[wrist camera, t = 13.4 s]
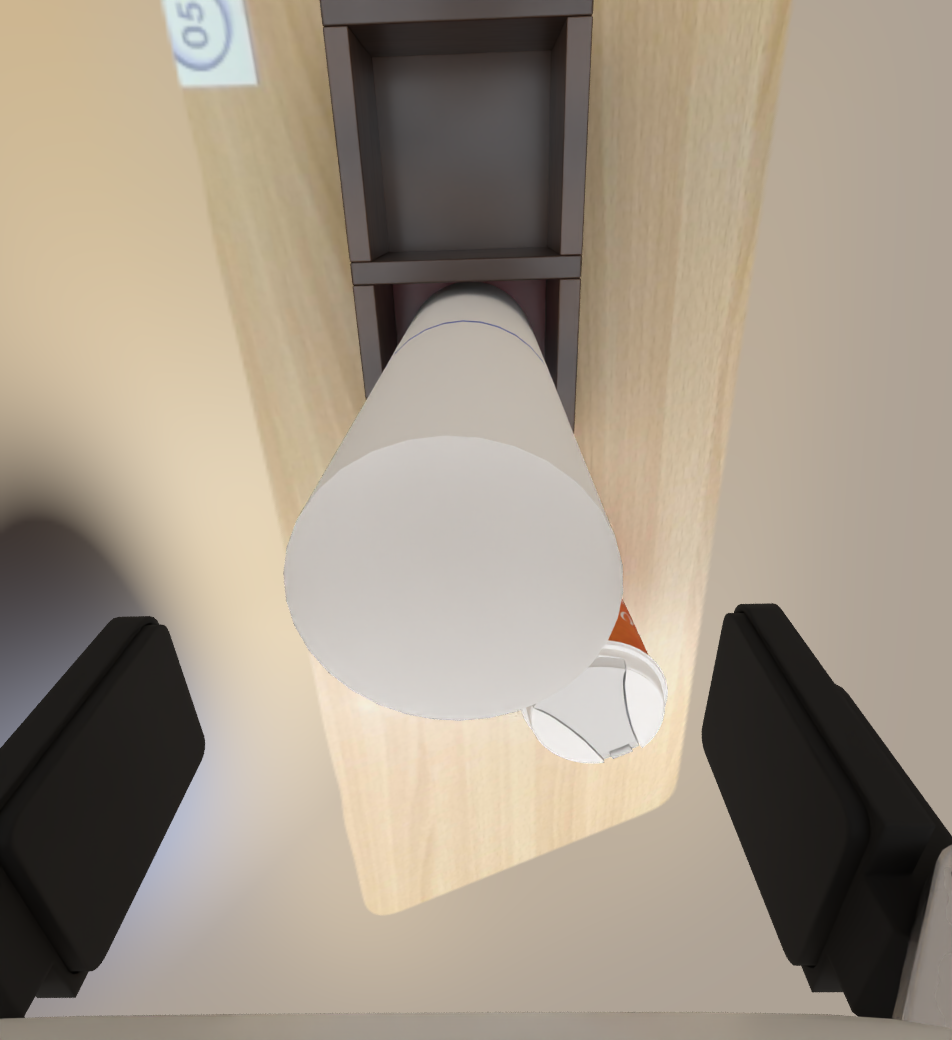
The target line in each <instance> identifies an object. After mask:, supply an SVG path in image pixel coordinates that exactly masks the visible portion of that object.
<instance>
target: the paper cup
mask: <svg viewBox="0 0 952 1040" xmlns="http://www.w3.org/2000/svg"><path fill="white" fill-rule="evenodd" d="M667 694H668V687H667V683H666V678H665V676H664V674H663V672H662V670H661V668H660V667H659V665H658V664H657V663H656V662H655V661H654V660H653V659H652V658H651V657H650V656H649V655H648V653H647V651H646V649H645V647H644V645H643V642H642V640H641V638H640V636H639V634H638V632H637V629H636V627H635V625H634V623H633V621H632V618H631V616H630V614H629V612H628V610H627V608H626V605H625V603H624V601H623V599H622V600H621V605H620V610H619V615H618V619H617V621H616V623H615V626H614V628H613V630H612V632H611V635H610V637H609V639H608V641H607V643H606V644H605V646H604V647H603V648H602V650H601V651H600V653H599V654H598V656H597V657H596V658H595V660H594V661H593V663H592V664H591V665H590V666H589V667H588V668H587V669H586V670H584V671H583V672H582V673H581V674H580V675H579V676H578V677H577V678H576V679H575V680H574V681H573V682H572V683H571V684H569V685H568V686H566V687H564V688H563V689H561V690H560V691H558V692H557V693H555V694H554V695H552V696H550V697H549V698H547V699H546V700H543V701H541V702H539V703H536V704H534V705H531V706H529V707H527V708H524V709H522V710H521V711H522V714H523V717H524V719H525V721H526V722H527V724H528V726H529V727H530V728H531V729H532V730H533V732H534V734H535V736H536V737H537V739H538V740H539V741H540V742H541V744H542V745H543V746H544V747H546V748H547V749H548V750H549V751H551V752H552V753H554V754H556V755H557V756H560V757H562V758H564V759H567V760H571V761H575V762H581V763H604V759H606V758H609V757H612V758H613V759H614V758H617V757H619V756H622V755H625V754H627V753H630V752H632V751H633V750H632V748H635V747H637V746H639V744H638V743H640V745H641V747H642V748H643V747H644V746H645V745H646V744H648V743H649V742H650V741H651V740H652V738H653V737H654V736H655V735H656V733H657V732H658V730H659V728H660V726H661V724H662V721H663V718H664V713H665V705H666V701H667Z"/></svg>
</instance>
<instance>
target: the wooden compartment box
mask: <svg viewBox="0 0 952 1040" xmlns="http://www.w3.org/2000/svg"><path fill="white" fill-rule="evenodd" d="M320 8H321V16H322V24H323V26H324V27H323V34H324V43H325V52H326V60H327V69H328V77H329V86H330V95H331V103H332V112H333V121H334V129H335V138H336V146H337V155H338V164H339V172H340V181H341V190H342V198H343V207H344V215H345V224H346V233H347V241H348V250H349V259H350V262H352V263H351V264H350V266H351V275H352V283H353V285H354V286H353V293H354V302H355V310H356V319H357V328H358V336H359V345H360V354H361V362H362V371H363V379H364V388H365V397H366V400H367V398H368V396H369V395H370V393H371V391H372V389H373V388H374V386H375V384H376V383H377V381H378V379H379V377H380V376H381V374H382V372H383V371H384V369H385V367H386V365H387V364H388V362H389V360H390V359H391V357H392V355H393V353H394V352H395V350H396V348H397V346H398V345H399V343H400V341H401V340H402V338H403V336H404V334H405V333H406V331H407V329H408V328H409V326H410V324H411V322H412V321H413V319H414V317H415V316H416V314H417V312H418V311H419V309H420V308H421V306H422V305H423V304H424V303H425V302H426V301H427V300H428V299H429V298H430V297H431V296H432V295H433V294H434V293H436V292H438V291H439V290H441V289H442V288H444V287H447V286H449V285H452V284H455V283H460V282H482V283H486V284H490V285H493V286H495V287H497V288H499V289H501V290H503V291H505V292H506V293H507V294H508V295H510V296H511V297H512V298H513V299H515V301H516V302H517V303H518V304H519V305H520V307H521V308H522V309H523V311H524V313H525V315H526V317H527V318H528V320H529V323H530V325H531V328H532V330H533V333H534V336H535V338H536V341H537V343H538V346H539V348H540V351H541V353H542V356H543V358H544V360H545V363H546V365H547V368H548V370H549V373H550V375H551V378H552V380H553V383H554V385H555V388H556V390H557V393H558V395H559V398H560V400H561V403H562V406H563V408H564V411H565V413H566V416H567V418H568V421H569V423H570V426H571V429H572V431H573V434H574V424H575V401H576V379H577V357H578V334H579V312H580V290H581V279H580V277H581V266H582V256H581V254H582V246H583V224H584V202H585V180H586V157H587V135H588V113H589V90H590V68H591V46H592V23H593V17H592V14H593V0H320Z"/></svg>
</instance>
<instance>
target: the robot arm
mask: <svg viewBox="0 0 952 1040" xmlns="http://www.w3.org/2000/svg"><path fill="white" fill-rule="evenodd" d="M702 743H703V748H704V751H705V754H706V757H707V759H708V762H709V764H710V767H711V769H712V772H713V774H714V777H715V779H716V782H717V784H718V787H719V789H720V792H721V794H722V797H723V799H724V802H725V804H726V807H727V809H728V812H729V814H730V817H731V820H732V822H733V825H734V827H735V830H736V832H737V834H738V837H739V840H740V842H741V845H742V847H743V849H744V852H745V855H746V857H747V860H748V862H749V865H750V867H751V870H752V872H753V875H754V877H755V880H756V882H757V885H758V887H759V890H760V892H761V895H762V897H763V900H764V903H765V905H766V907H767V910H768V912H769V915H770V917H771V920H772V923H773V925H774V928H775V930H776V933H777V935H778V938H779V940H780V943H781V945H782V948H783V950H784V952H785V955H786V957H787V958H788V960H789V961H790V963H792V964H793V965H796V966H800V965H801V966H802V968H803V971H804V973H805V976H806V978H807V981H808V983H809V986H810V988H811V990H812V992H844V995H845V997H846V999H847V1001H848V1003H849V1006H850V1008H851V1010H852V1012H853V1013H854V1014H856V1015H857V1016H858V1017H856V1016H842V1015H828V1014H826V1015H825V1014H775V1013H774V1014H773V1013H719V1012H716V1013H715V1012H492V1013H491V1012H485V1013H484V1012H477V1013H475V1012H474V1013H323V1014H321V1013H320V1014H317V1013H316V1014H216V1015H133V1016H72V1017H71V1016H70V1017H40V1018H39V1017H38V1018H25V1017H24V1016H25V1014H26V1012H27V1010H28V1008H29V1007H30V1005H31V1003H32V1001H33V999H34V998H35V996H36V997H37V998H68V997H69V998H72V997H73V998H75V997H76V996H77V994H78V992H79V990H80V987H81V986H82V984H83V982H84V980H85V978H86V976H87V974H88V972H89V971H93V970H95V969H96V968H98V966H99V965H100V964H101V963H102V961H103V959H104V958H105V956H106V954H107V952H108V950H109V948H110V946H111V944H112V942H113V940H114V938H115V936H116V934H117V932H118V930H119V928H120V926H121V924H122V922H123V920H124V918H125V915H126V913H127V911H128V909H129V907H130V905H131V903H132V901H133V899H134V897H135V895H136V893H137V891H138V889H139V887H140V885H141V883H142V881H143V879H144V877H145V875H146V873H147V871H148V869H149V867H150V864H151V863H152V860H153V858H154V856H155V854H156V852H157V850H158V848H159V846H160V844H161V842H162V840H163V838H164V836H165V834H166V832H167V830H168V828H169V826H170V824H171V822H172V820H173V818H174V815H175V813H176V812H177V809H178V807H179V805H180V803H181V801H182V799H183V797H184V795H185V793H186V791H187V789H188V787H189V785H190V783H191V781H192V779H193V777H194V775H195V773H196V771H197V769H198V766H199V765H200V762H201V760H202V758H203V755H204V750H205V739H204V735H203V732H202V729H201V726H200V723H199V720H198V717H197V714H196V711H195V708H194V705H193V702H192V699H191V696H190V693H189V690H188V687H187V684H186V681H185V678H184V675H183V672H182V669H181V666H180V664H179V660H178V657H177V654H176V651H175V648H174V645H173V642H172V639H171V636H170V634H169V631H168V629H167V627H166V626H164V625H159V623H158V621H157V620H156V619H155V618H154V617H150V616H145V617H144V616H141V617H140V616H139V617H117V618H113V619H112V620H111V621H110V622H109V623H108V624H107V625H106V626H105V628H104V629H103V630H102V631H101V632H100V633H99V634H98V636H97V637H96V638H95V639H94V640H93V641H92V643H91V644H90V645H89V646H88V647H87V649H86V650H85V651H84V652H83V653H82V654H81V655H80V656H79V658H78V659H77V660H76V661H75V662H74V663H73V665H72V666H71V667H70V668H69V669H68V670H67V672H66V673H65V674H64V675H63V676H62V677H61V679H60V680H59V681H58V682H57V683H56V684H55V686H54V687H53V688H52V689H51V690H50V691H49V692H48V694H47V695H46V696H45V697H44V698H43V699H42V701H41V702H40V703H39V704H38V705H37V706H36V708H35V709H34V710H33V711H32V712H31V713H30V715H29V716H28V717H27V718H26V719H25V720H24V722H23V723H22V724H21V725H20V726H19V727H18V728H17V730H16V731H15V732H14V733H13V734H12V735H11V737H10V738H9V739H8V740H7V741H6V742H5V744H4V745H3V746H2V747H1V748H0V1040H952V836H951V834H950V833H949V832H948V830H947V829H946V828H945V827H944V825H943V823H942V822H941V821H940V819H939V818H938V817H937V815H936V814H935V813H934V811H933V810H932V808H931V807H930V806H929V804H928V803H927V802H926V800H925V799H924V797H923V796H922V795H921V793H920V792H919V790H918V789H917V788H916V786H915V785H914V784H913V782H912V781H911V780H910V778H909V777H908V775H907V774H906V773H905V771H904V770H903V769H902V767H901V766H900V764H899V763H898V762H897V760H896V759H895V758H894V756H893V755H892V753H891V752H890V751H889V749H888V748H887V747H886V745H885V744H884V742H883V741H882V740H881V738H880V737H879V736H878V734H877V733H876V731H875V730H874V729H873V727H872V726H871V725H870V723H869V722H868V721H867V719H866V718H865V716H864V715H863V714H862V712H861V711H860V710H859V708H858V707H857V706H856V704H855V703H854V701H853V700H852V699H851V697H850V696H849V695H848V693H847V692H846V691H845V690H844V689H843V688H842V687H840V686H838V685H836V684H834V682H833V681H832V679H831V678H830V677H829V675H828V674H827V673H826V671H825V670H824V668H823V667H822V665H821V664H820V663H819V661H818V660H817V658H816V657H815V656H814V654H813V653H812V651H811V650H810V649H809V647H808V646H807V644H806V643H805V642H804V640H803V639H802V637H801V636H800V635H799V633H798V632H797V630H796V629H795V628H794V626H793V625H792V623H791V622H790V621H789V619H788V618H787V617H786V615H785V614H784V612H783V611H782V610H781V608H780V607H779V606H778V605H776V604H773V603H772V604H740V605H738V606H737V607H736V609H735V611H734V613H728V614H726V615H725V618H724V621H723V625H722V630H721V635H720V640H719V645H718V651H717V656H716V660H715V666H714V671H713V676H712V681H711V686H710V691H709V696H708V701H707V706H706V711H705V716H704V721H703V726H702Z"/></svg>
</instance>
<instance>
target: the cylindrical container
mask: <svg viewBox="0 0 952 1040" xmlns="http://www.w3.org/2000/svg"><path fill="white" fill-rule="evenodd" d="M284 584H285V593H286V601H287V604H288V607H289V610H290V613H291V616H292V619H293V622H294V625H295V627H296V629H297V631H298V632H299V634H300V636H301V638H302V639H303V641H304V643H305V645H306V646H307V648H308V650H309V651H310V652H311V653H312V654H313V655H314V657H315V658H316V659H317V660H318V661H319V662H320V663H321V664H322V666H323V667H324V668H325V669H326V670H327V671H328V672H329V673H330V674H331V675H333V676H334V677H335V678H337V679H338V680H339V681H340V682H342V683H343V684H344V685H346V686H347V687H348V688H349V689H351V690H352V691H354V692H356V693H358V694H360V695H361V696H363V697H365V698H367V699H369V700H371V701H373V702H375V703H377V704H378V705H381V706H384V707H387V708H390V709H393V710H396V711H399V712H402V713H405V714H409V715H414V716H419V717H424V718H430V719H440V720H459V721H461V720H473V719H484V718H491V717H496V716H500V715H504V714H508V713H512V712H516V711H520V710H522V709H524V708H527V707H529V706H531V705H534V704H536V703H539V702H541V701H543V700H546V699H547V698H549V697H550V696H552V695H554V694H555V693H557V692H558V691H560V690H561V689H563V688H564V687H566V686H568V685H569V684H571V683H572V682H573V681H574V680H575V679H576V678H577V677H578V676H579V675H580V674H581V673H582V672H583V671H584V670H586V669H587V668H588V667H589V666H590V665H591V664H592V663H593V661H594V660H595V658H596V657H597V656H598V654H599V653H600V651H601V650H602V648H603V647H604V646H605V644H606V643H607V641H608V639H609V637H610V635H611V632H612V630H613V628H614V626H615V623H616V621H617V619H618V615H619V610H620V605H621V600H622V596H623V565H622V561H621V557H620V553H619V550H618V546H617V542H616V538H615V535H614V532H613V530H612V527H611V525H610V523H609V520H608V518H607V515H606V513H605V510H604V508H603V505H602V503H601V500H600V498H599V495H598V493H597V490H596V488H595V485H594V483H593V481H592V478H591V476H590V473H589V471H588V468H587V466H586V463H585V461H584V458H583V456H582V453H581V451H580V448H579V446H578V444H577V441H576V439H575V436H574V434H573V431H572V429H571V426H570V423H569V421H568V418H567V416H566V413H565V411H564V408H563V406H562V403H561V400H560V398H559V395H558V393H557V390H556V388H555V385H554V383H553V380H552V378H551V375H550V373H549V370H548V368H547V365H546V363H545V360H544V358H543V356H542V353H541V351H540V348H539V346H538V343H537V341H536V338H535V336H534V333H533V330H532V328H531V325H530V323H529V320H528V318H527V317H526V315H525V313H524V311H523V309H522V308H521V307H520V305H519V304H518V303H517V302H516V301H515V299H513V298H512V297H511V296H510V295H508V294H507V293H506V292H505V291H503V290H501V289H499V288H497V287H495V286H493V285H490V284H486V283H482V282H460V283H455V284H452V285H449V286H447V287H444V288H442V289H441V290H439V291H438V292H436V293H434V294H433V295H432V296H431V297H430V298H429V299H428V300H427V301H426V302H425V303H424V304H423V305H422V306H421V308H420V309H419V311H418V312H417V314H416V316H415V317H414V319H413V321H412V322H411V324H410V326H409V328H408V329H407V331H406V333H405V334H404V336H403V338H402V340H401V341H400V343H399V345H398V346H397V348H396V350H395V352H394V353H393V355H392V357H391V359H390V360H389V362H388V364H387V365H386V367H385V369H384V371H383V372H382V374H381V376H380V377H379V379H378V381H377V383H376V384H375V386H374V388H373V389H372V391H371V393H370V395H369V396H368V398H367V400H366V401H365V403H364V405H363V407H362V408H361V410H360V412H359V413H358V415H357V417H356V419H355V420H354V422H353V424H352V425H351V427H350V429H349V431H348V432H347V434H346V436H345V438H344V439H343V441H342V443H341V444H340V446H339V448H338V450H337V451H336V453H335V455H334V457H333V458H332V460H331V462H330V463H329V465H328V467H327V469H326V470H325V472H324V474H323V475H322V477H321V479H320V481H319V482H318V484H317V486H316V488H315V489H314V491H313V493H312V494H311V496H310V498H309V500H308V501H307V503H306V505H305V507H304V508H303V510H302V512H301V513H300V515H299V517H298V519H297V521H296V524H295V526H294V529H293V532H292V534H291V537H290V540H289V542H288V545H287V549H286V557H285V566H284Z"/></svg>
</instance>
